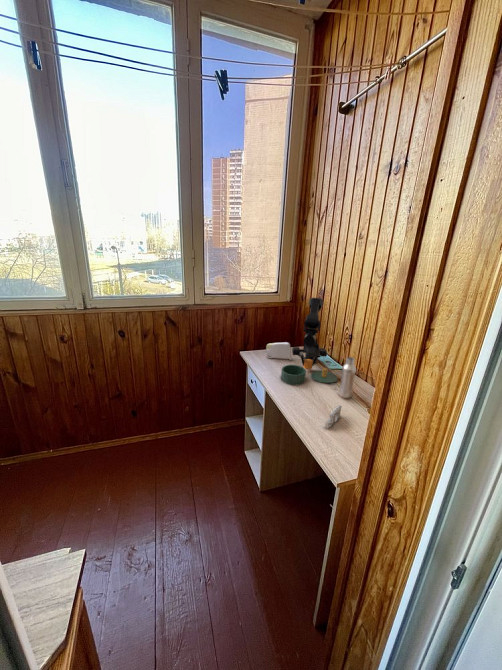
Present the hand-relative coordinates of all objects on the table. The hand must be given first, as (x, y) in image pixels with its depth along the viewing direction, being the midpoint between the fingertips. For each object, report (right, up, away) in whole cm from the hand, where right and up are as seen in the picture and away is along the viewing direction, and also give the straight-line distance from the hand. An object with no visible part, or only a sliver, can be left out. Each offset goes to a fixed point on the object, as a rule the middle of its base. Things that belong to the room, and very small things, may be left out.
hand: (307, 365), depth 166 cm
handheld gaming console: (-15, +2, +16) cm, 22 cm away
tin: (-10, -6, -9) cm, 14 cm away
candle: (0, -1, 0) cm, 1 cm away
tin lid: (+7, -6, -7) cm, 12 cm away
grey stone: (+2, -19, -43) cm, 47 cm away
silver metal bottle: (+13, -13, -24) cm, 30 cm away
